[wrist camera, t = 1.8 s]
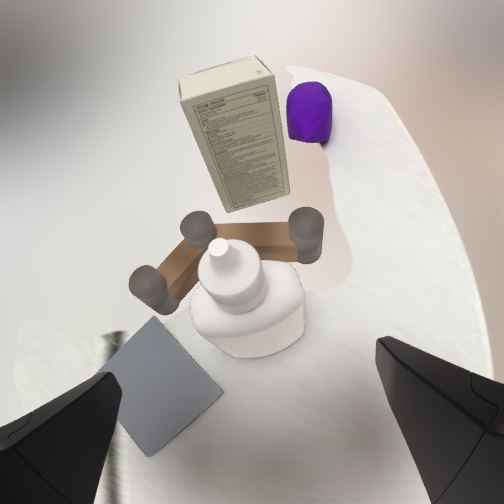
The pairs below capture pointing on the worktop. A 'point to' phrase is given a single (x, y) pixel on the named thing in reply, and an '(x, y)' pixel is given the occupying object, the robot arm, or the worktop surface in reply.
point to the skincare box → (238, 130)
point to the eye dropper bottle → (247, 301)
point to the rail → (204, 231)
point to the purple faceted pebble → (309, 113)
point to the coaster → (158, 387)
